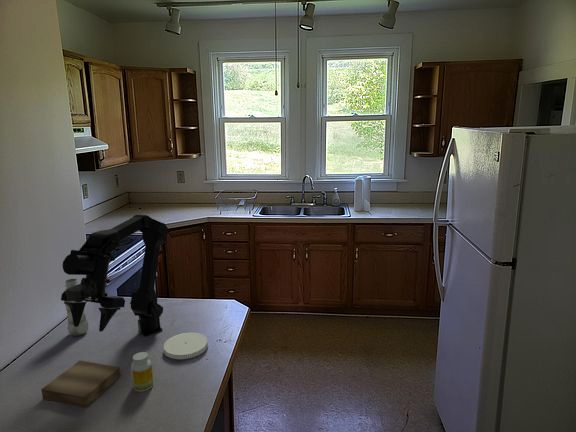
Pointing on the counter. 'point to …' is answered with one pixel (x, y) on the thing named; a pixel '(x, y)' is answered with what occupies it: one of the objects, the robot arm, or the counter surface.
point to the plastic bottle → (83, 323)
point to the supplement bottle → (141, 372)
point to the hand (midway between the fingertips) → (88, 329)
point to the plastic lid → (185, 345)
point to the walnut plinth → (81, 383)
